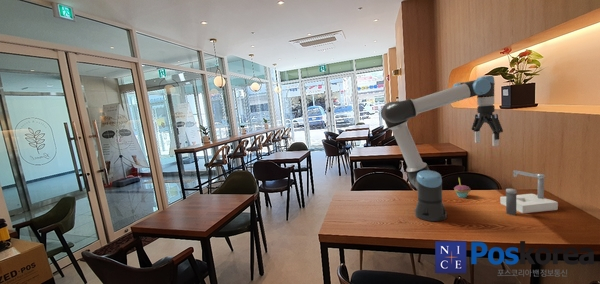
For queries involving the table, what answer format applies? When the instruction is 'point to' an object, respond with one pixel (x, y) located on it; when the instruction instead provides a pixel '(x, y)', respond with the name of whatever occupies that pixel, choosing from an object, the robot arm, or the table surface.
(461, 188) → the cupcake
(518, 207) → the socket block
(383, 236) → the table surface
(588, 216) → the table surface
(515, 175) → the clip
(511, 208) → the plug
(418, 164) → the robot arm
